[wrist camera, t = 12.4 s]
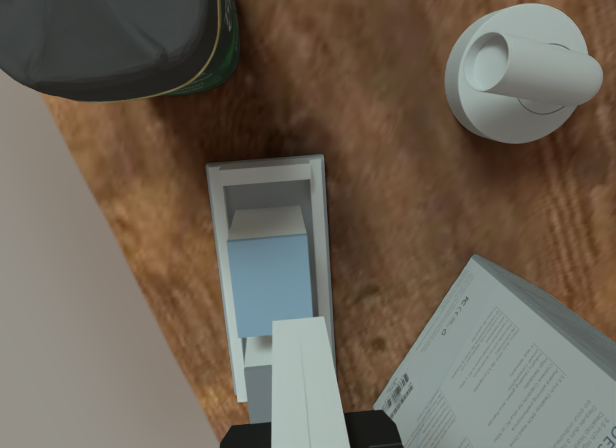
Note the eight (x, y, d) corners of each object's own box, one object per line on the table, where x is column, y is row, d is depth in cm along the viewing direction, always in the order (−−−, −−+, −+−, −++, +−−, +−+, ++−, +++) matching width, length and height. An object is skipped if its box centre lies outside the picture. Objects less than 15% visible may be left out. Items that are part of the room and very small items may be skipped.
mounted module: (248, 317, 36) (243, 371, 30) (309, 311, 37) (317, 363, 30) (256, 386, 38) (253, 452, 31) (314, 380, 38) (323, 445, 32)
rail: (207, 163, 34) (200, 172, 31) (322, 154, 34) (327, 162, 31) (235, 386, 39) (232, 414, 36) (335, 377, 39) (341, 403, 36)
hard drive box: (445, 438, 42) (590, 737, 23) (369, 406, 41) (457, 696, 22) (551, 289, 39) (823, 494, 20) (472, 247, 37) (684, 425, 18)
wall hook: (507, -38, 23) (700, -3, 24) (439, -5, 32) (581, 19, 33) (465, 146, 25) (643, 170, 26) (413, 128, 34) (547, 146, 35)
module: (235, 210, 34) (226, 242, 27) (299, 204, 34) (307, 235, 28) (244, 289, 36) (238, 338, 29) (305, 283, 36) (313, 330, 29)
